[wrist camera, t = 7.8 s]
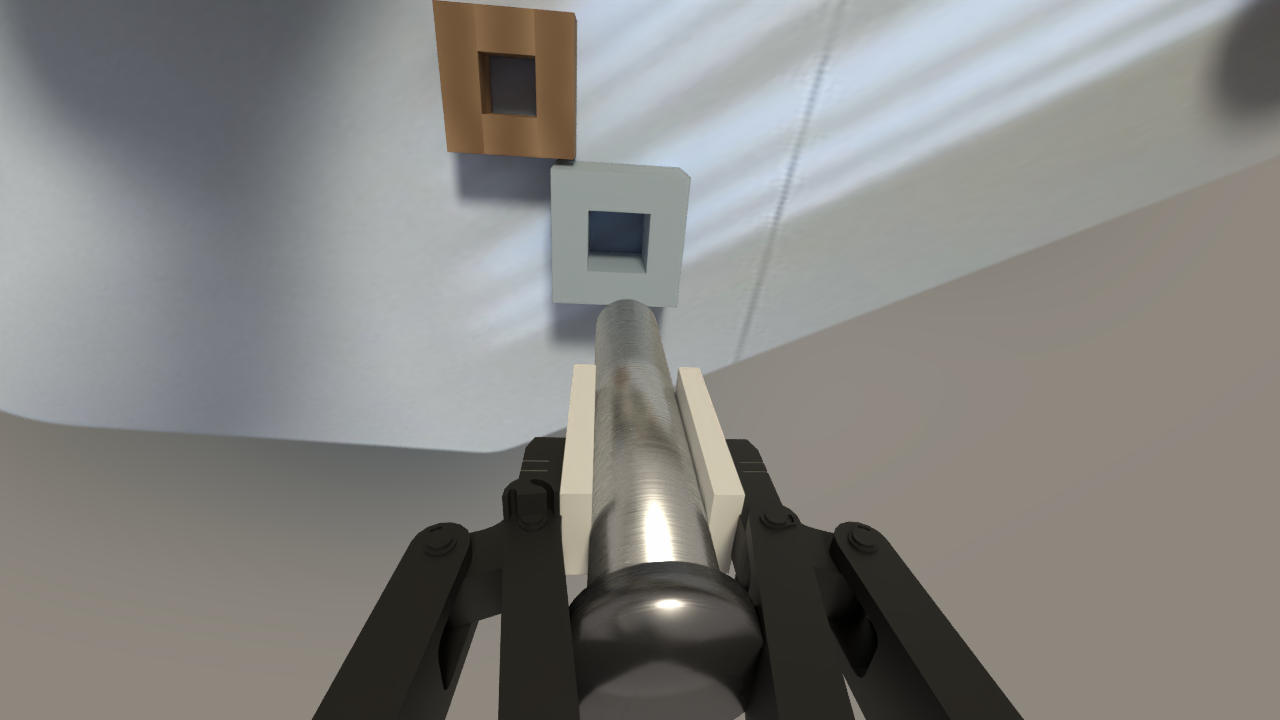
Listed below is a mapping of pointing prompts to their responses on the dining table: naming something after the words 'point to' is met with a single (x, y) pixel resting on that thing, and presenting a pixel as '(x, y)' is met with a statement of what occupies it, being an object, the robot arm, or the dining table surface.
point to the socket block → (617, 272)
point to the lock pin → (653, 553)
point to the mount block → (467, 78)
